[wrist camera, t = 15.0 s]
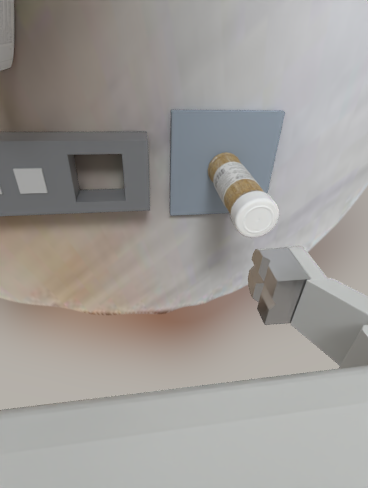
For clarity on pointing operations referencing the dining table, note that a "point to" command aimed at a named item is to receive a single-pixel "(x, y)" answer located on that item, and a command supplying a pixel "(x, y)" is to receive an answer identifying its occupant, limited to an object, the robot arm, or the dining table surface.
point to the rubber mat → (216, 142)
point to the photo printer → (6, 33)
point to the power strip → (69, 172)
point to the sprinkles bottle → (242, 196)
